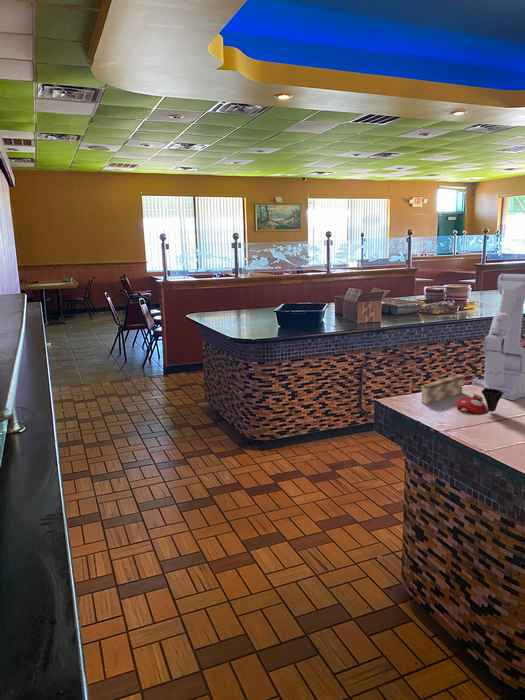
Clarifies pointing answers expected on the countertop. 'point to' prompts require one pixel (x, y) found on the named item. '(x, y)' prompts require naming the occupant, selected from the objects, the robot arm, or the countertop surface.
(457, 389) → the wall board
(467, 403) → the tracker holder
